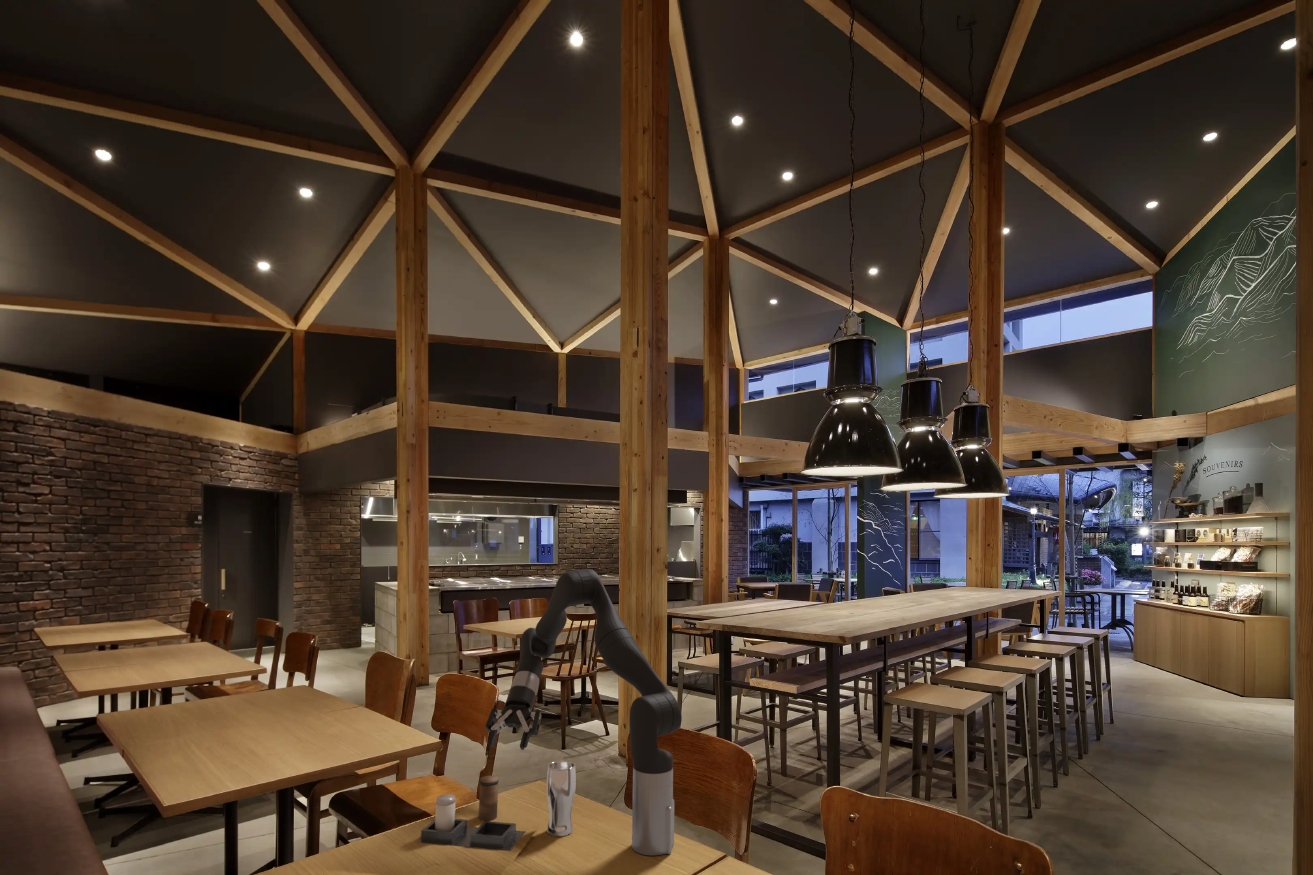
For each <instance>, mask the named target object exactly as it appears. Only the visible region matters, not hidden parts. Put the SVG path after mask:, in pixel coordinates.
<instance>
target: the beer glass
mask: <svg viewBox="0 0 1313 875" xmlns="http://www.w3.org/2000/svg"><path fill="white" fill-rule="evenodd" d="M576 771H577V770H576V763H575V762H574V761H573V762H572V761H570V760H557V761H552V762H550V763H548V765H547V773H546V798H547V806H548V813H549V814H548V824H547V829H546V833H547V834H548V835H549V834H550V835H549V836H551V835H552V836H551V837H555V836H562V837H566V836H565V835H567V836H568V834H569V835H571V834H572V833H573V832H574V831H573V830H574V828H573V822H572V813H573V812H572V810H573V806H574V801H575V800H574V799H575V794H576V788H577V787H576V786H577V784H576V783H577V780H576V779H577V777H576V776H577V775H576V774H577V772H576ZM571 832H572V833H571ZM570 833H571V834H570Z"/></svg>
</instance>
